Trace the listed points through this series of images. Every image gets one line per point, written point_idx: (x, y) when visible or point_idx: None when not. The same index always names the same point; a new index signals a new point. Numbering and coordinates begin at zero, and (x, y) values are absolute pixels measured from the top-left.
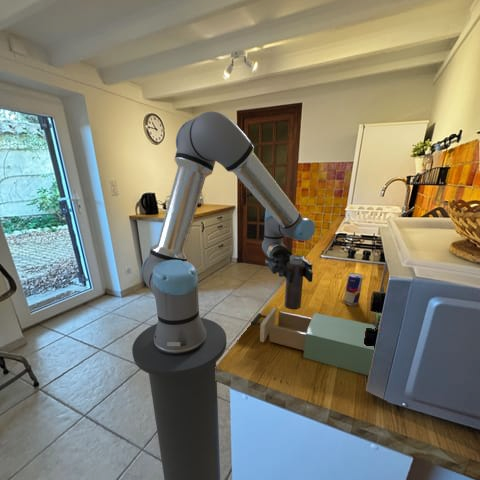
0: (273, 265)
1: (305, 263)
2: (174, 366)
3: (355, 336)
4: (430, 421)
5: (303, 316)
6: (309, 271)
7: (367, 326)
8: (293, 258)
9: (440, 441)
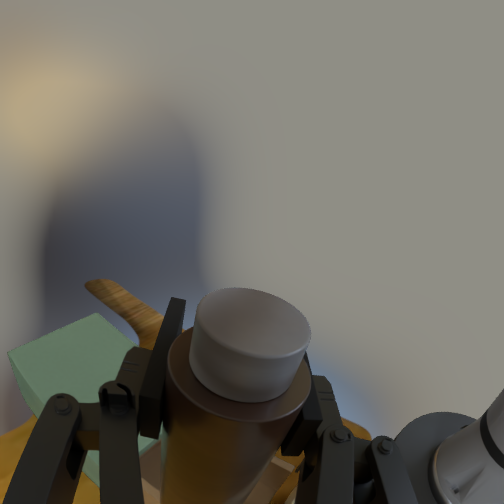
0: (395, 450)
1: (129, 385)
2: (442, 419)
3: (91, 346)
4: (101, 299)
5: (151, 492)
6: (177, 312)
7: (26, 355)
8: (288, 304)
9: (117, 290)
